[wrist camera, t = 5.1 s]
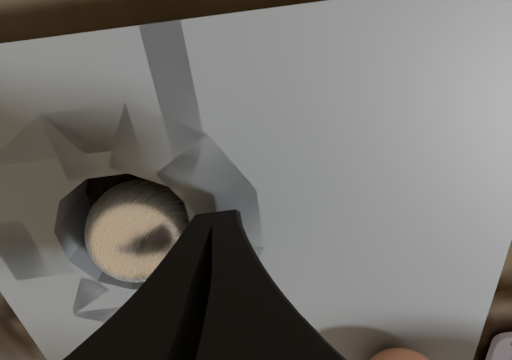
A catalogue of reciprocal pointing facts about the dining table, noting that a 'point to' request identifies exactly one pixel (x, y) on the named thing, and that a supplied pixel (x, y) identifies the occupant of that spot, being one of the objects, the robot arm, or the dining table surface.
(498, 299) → the dining table surface
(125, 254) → the steel ball
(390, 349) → the terracotta ball
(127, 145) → the bearing plate
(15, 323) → the dining table surface
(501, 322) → the dining table surface
